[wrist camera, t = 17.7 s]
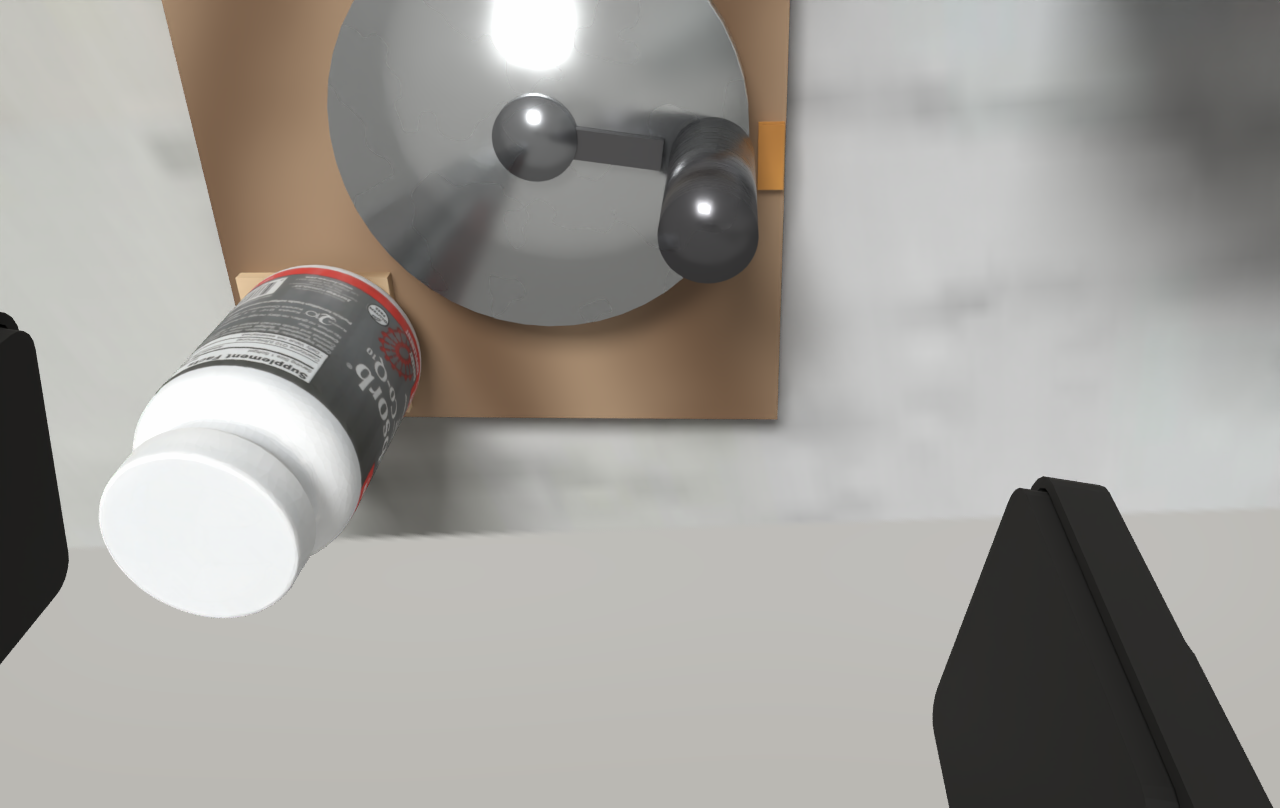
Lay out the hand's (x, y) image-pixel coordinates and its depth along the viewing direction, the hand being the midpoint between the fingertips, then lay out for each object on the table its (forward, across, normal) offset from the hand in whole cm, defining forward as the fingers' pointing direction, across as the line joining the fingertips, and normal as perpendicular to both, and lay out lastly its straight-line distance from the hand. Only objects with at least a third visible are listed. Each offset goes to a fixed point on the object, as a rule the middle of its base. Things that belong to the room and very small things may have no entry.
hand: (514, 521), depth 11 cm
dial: (+20, +3, +2) cm, 21 cm away
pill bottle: (+21, +8, +10) cm, 25 cm away
